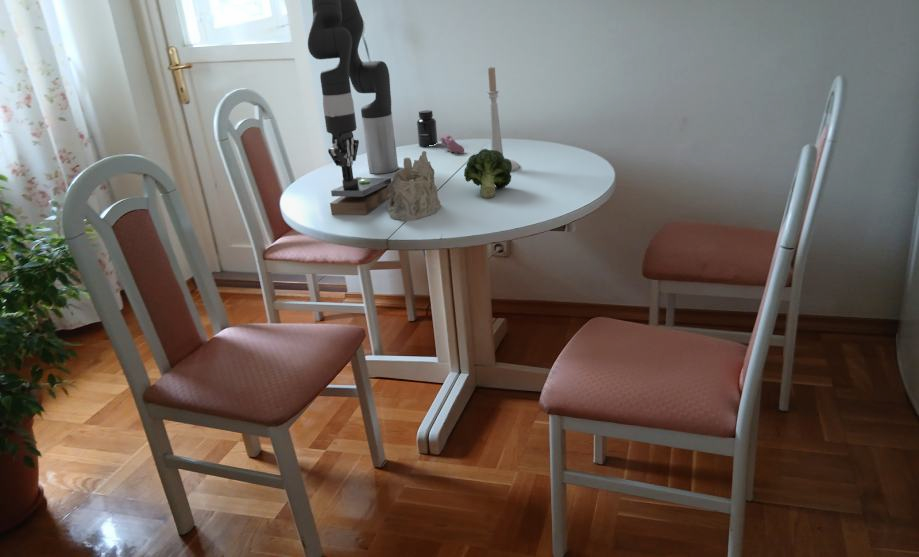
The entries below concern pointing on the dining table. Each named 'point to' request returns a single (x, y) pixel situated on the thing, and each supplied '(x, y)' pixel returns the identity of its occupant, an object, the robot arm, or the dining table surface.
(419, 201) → the miniature castle
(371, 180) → the plate
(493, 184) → the vegetable
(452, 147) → the pink shoe
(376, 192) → the brown boxy piece
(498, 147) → the candlestick
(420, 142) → the supplement bottle
